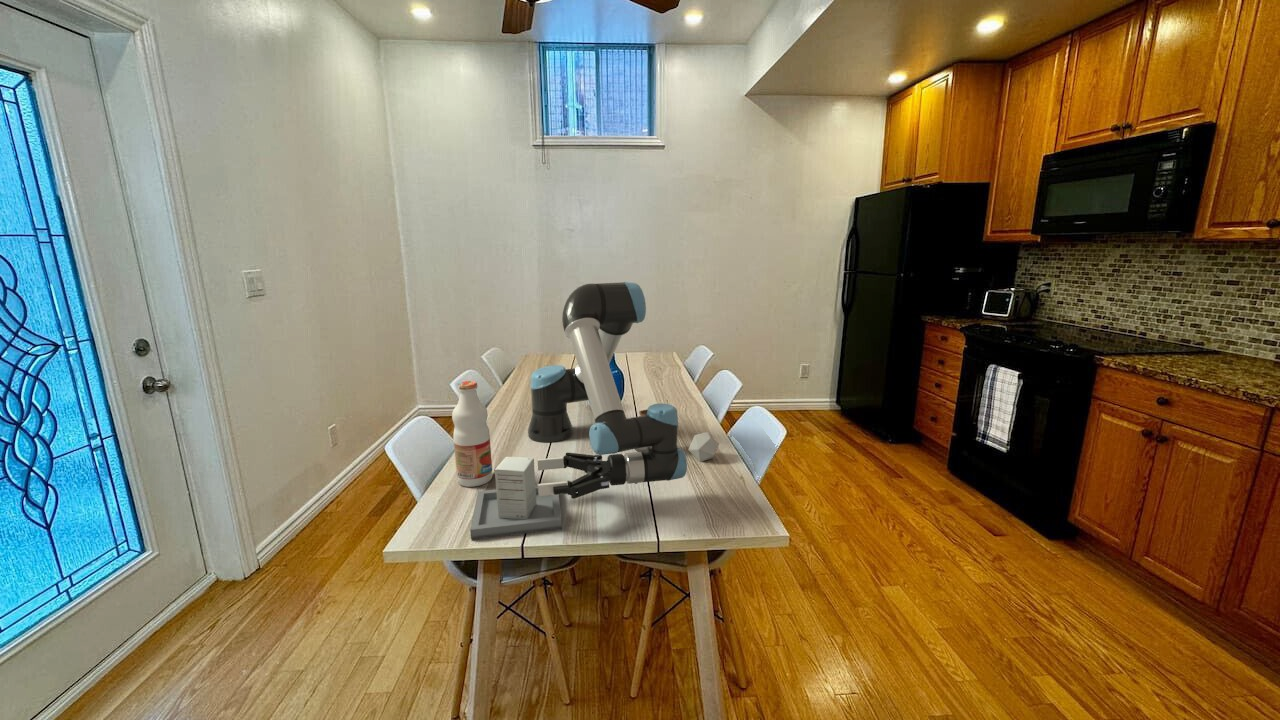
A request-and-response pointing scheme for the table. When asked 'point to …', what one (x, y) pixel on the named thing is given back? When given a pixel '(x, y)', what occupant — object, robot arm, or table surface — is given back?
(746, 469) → the table surface
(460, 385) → the fruit juice
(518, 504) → the supplement box
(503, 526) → the tray
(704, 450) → the die
